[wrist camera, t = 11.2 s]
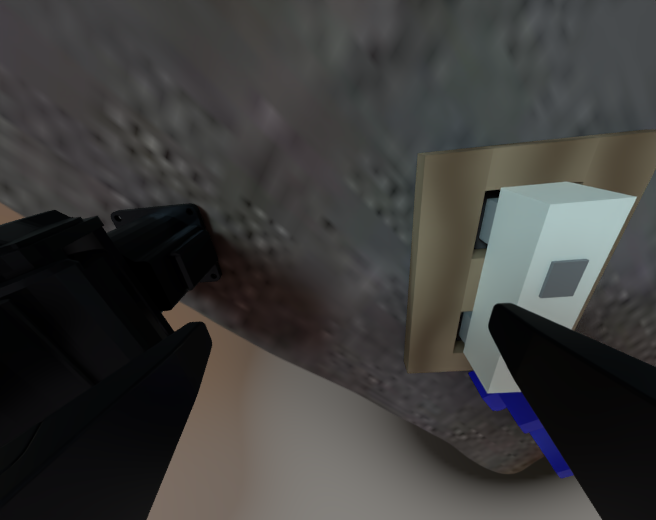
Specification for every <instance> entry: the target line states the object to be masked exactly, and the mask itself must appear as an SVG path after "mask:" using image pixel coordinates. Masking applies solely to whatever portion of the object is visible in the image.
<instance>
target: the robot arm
mask: <svg viewBox="0 0 656 520" xmlns="http://www.w3.org/2000/svg"><path fill="white" fill-rule="evenodd" d="M189 208H190V209H192V211H193V213H191V212H190V211H189ZM119 216H120V217H121V219H122V220H121V219H120V218H119ZM111 219H112V221H113V223H114V225H115V226H116V228H117V229H114V230H112V231H110V232H108V233H106V231H105V230H104V229H103V227H102V226H104V224H103V223H102V221H101V220H100V219H99V217H98V216H94V217H90V218H85V219H82V218H81V217H76V218H73V217H69V216H67V215H65V214H62V213H60V212H58V211H56V210H52V211H48V212H44V213H40V214H36V215H33V216H29V217H26V218H22V219H19V220H15V221H12V222H9V223H5V224H2V225H0V520H146V519H147V517H148V514H149V512H150V510H151V507H152V505H153V502H154V500H155V497H156V495H157V493H158V490H159V488H160V485H161V483H162V480H163V478H164V475H165V473H166V471H167V468H168V466H169V463H170V461H171V458H172V456H173V453H174V451H175V449H176V446H177V444H178V441H179V439H180V437H181V434H182V432H183V429H184V427H185V424H186V422H187V419H188V417H189V414H190V412H191V410H192V407H193V405H194V402H195V400H196V397H197V394H198V391H199V388H200V384H201V382H202V378H203V375H204V372H205V368H206V365H207V361H208V358H209V355H210V352H211V348H212V340H211V337H210V335H209V333H208V330H207V328H206V325H205V324H204V323H203V322H190V323H187V324H186V325H184V326H183V327H182V328H180V329H178V330H177V331H173V329H172V328H171V326H170V325H169V323H168V322H167V320H166V319H165V318H164V316H163V315H162V312H163V311H168V310H172V308H173V307H174V306H175V305H176V304H177V303H178V302H179V301H180V300H181V298H182V297H183V296H184V295H185V294H186V293H187V292H188V291H189V290H192V289H194V287H195V286H196V285H197V284H198V283H199V282H212V281H218V280H219V279H220V278H221V276H222V273H221V270H220V268H219V265H218V262H217V261H218V258H217V255H216V252H215V249H214V246H213V244H212V241H211V238H210V235H209V232H208V231H207V230H206V228H205V225H204V223H203V220H202V217H201V214H200V211H199V209H198V207H197V206H196V205H194V204H191V203H189V204H179V205H168V206H158V207H148V208H138V209H127V210H118V211H115V212H113V213H112V214H111ZM213 274H216V276H214V275H213ZM488 329H489V332H490V334H491V336H492V338H493V340H494V342H495V344H496V346H497V348H498V350H499V352H500V354H501V356H502V358H503V360H504V362H505V364H506V366H507V368H508V370H509V372H510V374H511V375H512V377H513V379H514V381H515V382H516V384H517V386H518V387H519V389H520V391H521V392H522V394H523V395H524V397H525V398H526V400H527V402H528V403H529V405H530V406H531V408H532V410H533V411H534V413H535V414H536V416H537V417H538V419H539V421H540V422H541V424H542V425H543V427H544V429H545V430H546V432H547V433H548V435H549V436H550V438H551V440H552V441H553V443H554V444H555V446H556V447H557V449H558V451H559V452H560V454H561V455H562V457H563V459H564V460H565V462H566V463H567V465H568V466H569V468H570V470H571V471H572V473H573V474H574V476H575V478H576V479H577V481H578V482H579V484H580V485H581V487H582V489H583V490H584V492H585V493H586V495H587V496H588V498H589V500H590V501H591V503H592V504H593V506H594V508H595V509H596V511H597V512H598V514H599V515H600V517H601V518H602V520H656V367H654V366H652V365H650V364H648V363H645V362H643V361H641V360H639V359H636V358H634V357H632V356H630V355H627V354H625V353H623V352H621V351H618V350H616V349H614V348H612V347H609V346H607V345H605V344H603V343H600V342H598V341H596V340H594V339H591V338H589V337H587V336H585V335H582V334H580V333H578V332H576V331H573V330H571V329H569V328H567V327H565V326H562V325H560V324H558V323H556V322H553V321H551V320H549V319H547V318H544V317H542V316H540V315H538V314H535V313H533V312H531V311H529V310H526V309H524V308H522V307H520V306H517V305H515V304H513V303H497V304H495V305H494V307H493V309H492V313H491V316H490V319H489V323H488Z"/></svg>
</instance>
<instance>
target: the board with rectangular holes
mask: <svg viewBox="0 0 656 520" xmlns="http://www.w3.org/2000/svg"><path fill="white" fill-rule="evenodd" d="M655 169H656V130H637V131H628V132H618V133H609V134H599V135H590V136H580V137H570V138H561V139H551V140H542V141H532V142H523V143H513V144H503V145H494V146H484V147H475V148H465V149H456V150H446V151H436V152H427V153H418V157H417V172H416V187H415V202H414V216H413V231H412V246H411V261H410V275H409V290H408V305H407V320H406V335H405V349H404V363H405V367H406V370H407V373H428V372H448V371H468V370H473V368H472V366H471V365H470V363H469V361H468V360H467V358H466V356H465V354H464V353H463V351H464V347H465V344H464V342H463V340H460V341H455V339H456V334H457V329H458V324H459V319H460V314H461V312H465V311H473V308H474V303H475V299H476V294H477V290H478V286H479V281H480V277H481V273H482V268H483V264H484V260H485V255H486V251H487V248H485V249H474V244H475V239H476V234H477V230H478V225H479V220H480V215H481V210H482V205H483V200H484V195H485V191H489V190H499V189H501V188H504V187H514V186H525V185H536V184H546V183H557V182H571V183H576V184H580V185H585V186H589V187H594V188H599V189H603V190H608V191H612V192H617V193H622V194H626V195H631V196H635V197H637V198H636V200H635V202H634V204H633V206H632V208H631V210H630V212H629V214H628V216H627V218H626V220H625V222H624V224H623V226H622V228H621V230H620V232H619V235H618V237H617V239H616V241H615V243H614V245H613V247H612V249H611V251H610V253H609V255H608V257H607V259H606V261H605V263H604V265H603V267H602V269H601V271H600V273H599V275H598V277H597V279H596V281H595V283H594V285H593V287H592V289H591V291H590V293H589V295H588V297H587V299H586V301H585V303H584V305H583V307H582V309H581V311H580V313H579V315H578V317H577V319H576V321H575V323H574V325H573V327H572V329H571V330H573V331H574V330H575V328H576V326H577V324H578V322H579V320H580V318H581V316H582V314H583V312H584V310H585V308H586V306H587V304H588V302H589V300H590V298H591V296H592V294H593V292H594V290H595V288H596V286H597V284H598V282H599V280H600V278H601V276H602V274H603V272H604V270H605V268H606V266H607V264H608V263H609V261H610V259H611V257H612V255H613V253H614V251H615V249H616V247H617V245H618V243H619V241H620V239H621V237H622V235H623V233H624V231H625V229H626V227H627V225H628V223H629V221H630V219H631V217H632V215H633V213H634V211H635V209H636V207H637V205H638V203H639V201H640V199H641V197H642V195H643V193H644V191H645V189H646V187H647V185H648V183H649V181H650V179H651V177H652V175H653V173H654V171H655Z"/></svg>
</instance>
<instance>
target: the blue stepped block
mask: <svg viewBox="0 0 656 520" xmlns="http://www.w3.org/2000/svg"><path fill="white" fill-rule="evenodd" d="M468 374H469V376H470V377H471V379H472V381H473V383H474V385H475V386H476V388H477V390H478V392H479V394H480V395H481V397H482V399H483V400H484V401H485V402H486V403H487V405H488V406H489V407H490V408H491V409H492V410H493V411H494V410H496V411H499V410H502V409H505V408H508V410H509V412H510V413H511V415H512V416H513V418H514V420H515V421H516V423H517V424H518V426H519V427H520V428H521V430H522V431H523V432H524V433H528V432H529V433H530V434H531V436H532V437H533V439H534V440H535V442H536V443H537V445H538V446H539V447H540V449H541V450H542V452H543V453H544V455H545V456H546V458H547V459H548V461H549V462H550V464H551V465H552V467H553V468H554V470H555V471H556V473H557V474H558V475H559V477H560V478H564V477H568V476H572V475H574V474H573V473H572V471H571V470H570V468H569V466H568V465H567V463H566V462H565V460H564V459H563V457H562V455H561V454H560V452H559V451H558V449H557V447H556V446H555V444H554V443H553V441H552V440H551V438H550V436H549V435H548V433H547V432H546V430H545V429H544V427H543V425H542V424H541V422H540V421H539V419H538V417H537V416H536V414H535V413H534V411H533V410H532V408H531V406H530V405H529V403H528V402H527V400H526V398H525V397H524V395H523V394H522V392H508V393H487V392H486V390H485V388H484V387H483V385H482V383H481V382H480V380H479V378H478V377H477V375H476V373H475V371H471V372H469V373H468Z"/></svg>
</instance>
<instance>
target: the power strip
mask: <svg viewBox="0 0 656 520" xmlns="http://www.w3.org/2000/svg"><path fill="white" fill-rule="evenodd" d="M636 198H637V197H635V196H631V195H626V194H622V193H617V192H612V191H608V190H603V189H599V188H594V187H589V186H585V185H580V184H576V183H571V182H557V183H546V184H536V185H525V186H514V187H504V188H501V190H500V194H499V198H489V199H487V202H486V207H485V212H484V217H483V222H482V226H481V231H480V236H479V238H480V239H481V240H482V241H484V242H485V243H487V244H488V247H487V251H486V255H485V260H484V264H483V268H482V273H481V277H480V281H479V286H478V290H477V294H476V299H475V303H474V308H473V311H465V312H464V313H463V318H462V322H461V327H460V332H459V336H460V337H461V339H462V340H463V342H464V344H465V347H464V351H463V353H464V354H465V356H466V358H467V360H468V361H469V363H470V365H471V366H472V368H473V370H474V371H475V373H476V375H477V377H478V378H479V380H480V382H481V383H482V385H483V387H484V388H485V390H486V392H487V393H508V392H521V391H520V389H519V387H518V386H517V384H516V382H515V381H514V379H513V377H512V375H511V374H510V372H509V370H508V368H507V366H506V364H505V362H504V360H503V358H502V356H501V354H500V352H499V350H498V348H497V346H496V344H495V342H494V340H493V338H492V336H491V334H490V332H489V329H488V323H489V319H490V316H491V313H492V309H493V307H494V305H495V304H497V303H513V304H515V305H517V306H520V307H522V308H524V309H526V310H529V311H531V312H533V313H535V314H538V315H540V316H542V317H544V318H547V319H549V320H551V321H553V322H556V323H558V324H560V325H562V326H565V327H567V328H569V329H572V327H573V325H574V323H575V321H576V319H577V317H578V315H579V313H580V311H581V309H582V307H583V305H584V303H585V301H586V299H587V297H588V295H589V293H590V291H591V289H592V287H593V285H594V283H595V281H596V279H597V277H598V275H599V273H600V271H601V269H602V267H603V265H604V263H605V261H606V259H607V257H608V255H609V253H610V251H611V249H612V247H613V245H614V243H615V241H616V239H617V237H618V235H619V232H620V230H621V228H622V226H623V224H624V222H625V220H626V218H627V216H628V214H629V212H630V210H631V208H632V206H633V204H634V202H635V200H636Z"/></svg>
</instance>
